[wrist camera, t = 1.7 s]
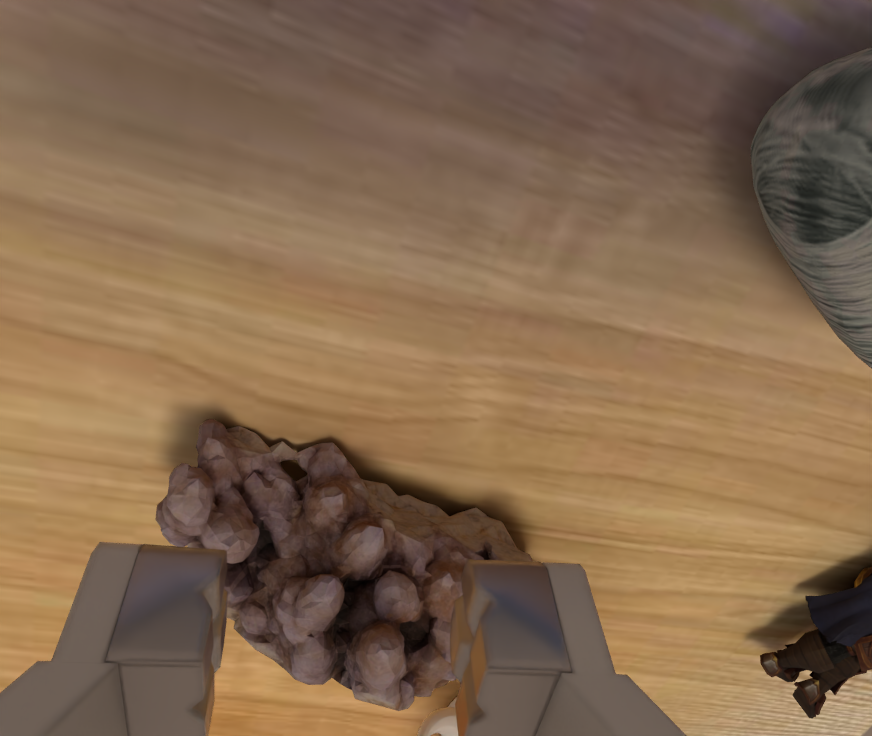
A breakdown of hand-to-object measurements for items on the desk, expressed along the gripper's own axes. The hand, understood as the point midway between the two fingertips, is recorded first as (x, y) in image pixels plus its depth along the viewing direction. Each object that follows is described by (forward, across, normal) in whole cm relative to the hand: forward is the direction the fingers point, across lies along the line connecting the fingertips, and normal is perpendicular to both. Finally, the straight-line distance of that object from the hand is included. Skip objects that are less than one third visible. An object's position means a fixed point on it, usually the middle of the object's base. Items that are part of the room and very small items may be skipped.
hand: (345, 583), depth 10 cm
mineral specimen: (+19, -3, +19) cm, 27 cm away
